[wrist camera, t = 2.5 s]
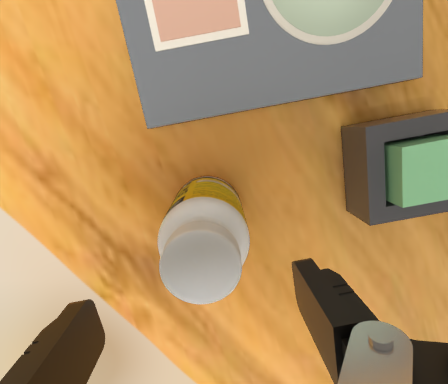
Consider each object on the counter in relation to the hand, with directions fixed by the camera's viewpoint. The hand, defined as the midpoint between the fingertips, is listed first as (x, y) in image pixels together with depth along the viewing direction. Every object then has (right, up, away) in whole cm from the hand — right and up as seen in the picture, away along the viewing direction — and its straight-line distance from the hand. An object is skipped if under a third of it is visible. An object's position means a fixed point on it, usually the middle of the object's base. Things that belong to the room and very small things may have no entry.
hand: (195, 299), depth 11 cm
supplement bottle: (0, +3, +12) cm, 12 cm away
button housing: (+14, +7, +11) cm, 19 cm away
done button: (+14, +6, +9) cm, 18 cm away
